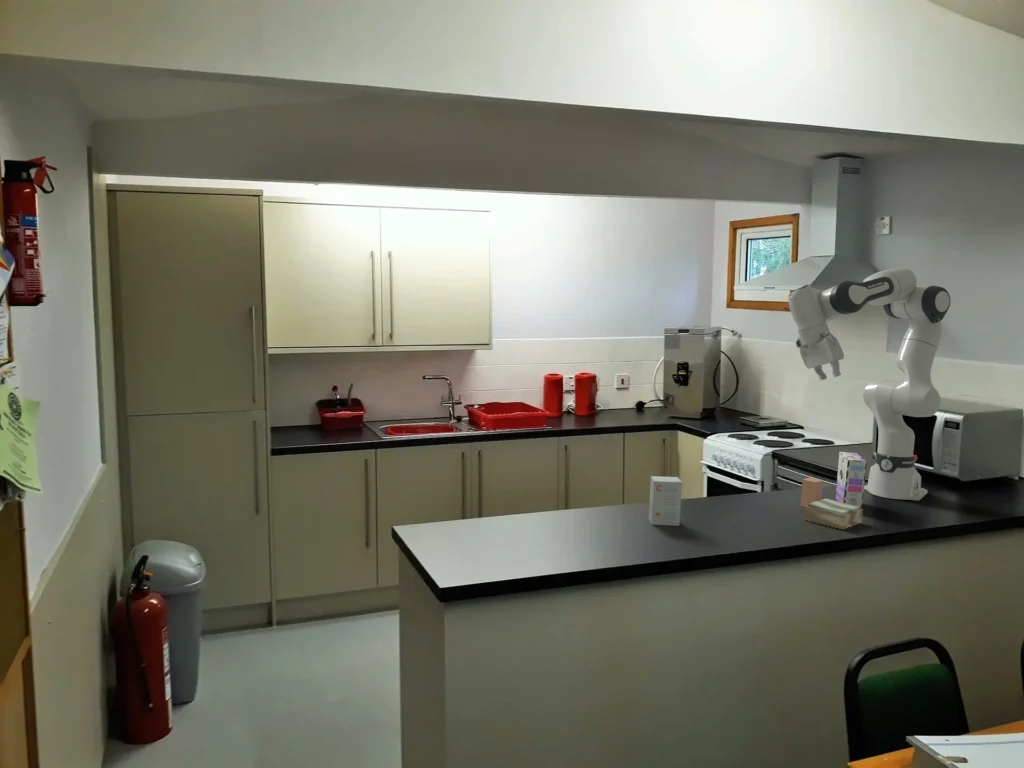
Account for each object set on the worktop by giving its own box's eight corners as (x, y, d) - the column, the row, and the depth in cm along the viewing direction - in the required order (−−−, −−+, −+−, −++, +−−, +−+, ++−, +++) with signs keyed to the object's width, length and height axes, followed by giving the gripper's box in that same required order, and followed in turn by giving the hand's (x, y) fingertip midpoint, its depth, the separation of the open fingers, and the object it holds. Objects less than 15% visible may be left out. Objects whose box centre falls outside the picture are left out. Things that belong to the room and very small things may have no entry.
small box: (675, 519, 237) (678, 476, 236) (679, 526, 231) (682, 482, 230) (647, 518, 238) (650, 475, 236) (651, 525, 231) (654, 480, 230)
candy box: (862, 512, 254) (867, 461, 252) (842, 510, 255) (847, 459, 253) (853, 500, 267) (857, 452, 265) (834, 499, 268) (838, 450, 266)
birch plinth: (823, 513, 250) (825, 497, 250) (861, 523, 241) (863, 506, 241) (803, 519, 242) (805, 503, 242) (842, 530, 234) (844, 513, 233)
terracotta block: (807, 504, 260) (809, 477, 259) (820, 508, 257) (823, 480, 255) (800, 507, 257) (802, 479, 256) (813, 510, 254) (816, 482, 252)
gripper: (840, 327, 243) (855, 371, 242) (810, 338, 264) (825, 378, 262) (820, 333, 243) (836, 377, 242) (793, 344, 263) (807, 384, 262)
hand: (830, 378), depth 252 cm, fingers open, 8 cm apart
